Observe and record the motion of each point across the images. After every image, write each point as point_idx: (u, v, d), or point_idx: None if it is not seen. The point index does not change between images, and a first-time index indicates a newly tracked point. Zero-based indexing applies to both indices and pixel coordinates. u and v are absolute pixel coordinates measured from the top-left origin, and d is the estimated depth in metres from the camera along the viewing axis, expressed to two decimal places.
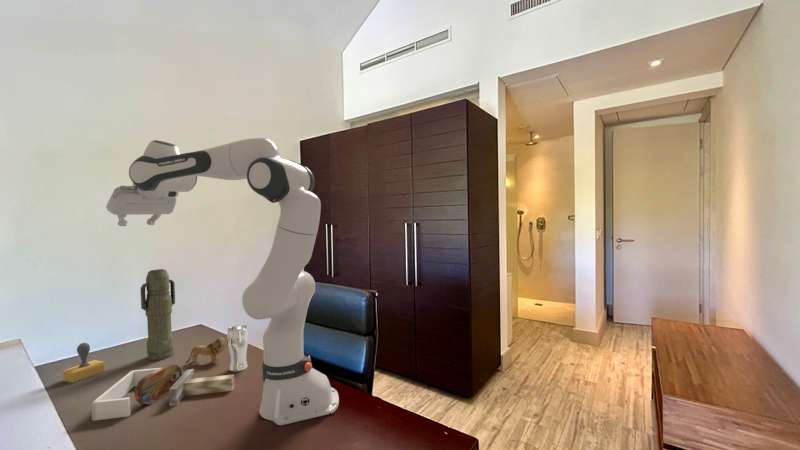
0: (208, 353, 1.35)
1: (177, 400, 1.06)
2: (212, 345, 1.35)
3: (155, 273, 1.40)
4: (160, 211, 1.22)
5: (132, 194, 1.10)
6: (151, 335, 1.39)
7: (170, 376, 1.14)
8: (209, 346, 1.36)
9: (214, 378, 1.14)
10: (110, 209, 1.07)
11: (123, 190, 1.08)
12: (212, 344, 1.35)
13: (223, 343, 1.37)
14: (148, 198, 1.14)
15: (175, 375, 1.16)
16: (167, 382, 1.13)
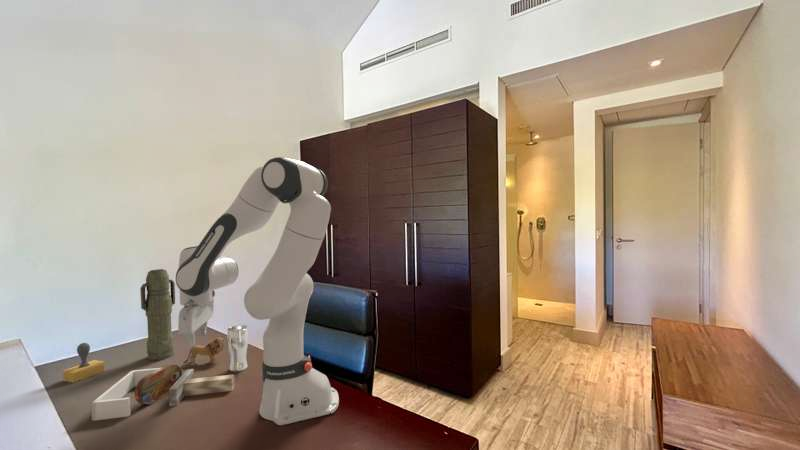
0: (206, 353, 1.35)
1: (177, 400, 1.06)
2: (210, 345, 1.35)
3: (155, 273, 1.40)
4: (208, 316, 1.18)
5: (195, 307, 1.07)
6: (151, 335, 1.39)
7: (170, 376, 1.14)
8: (207, 346, 1.36)
9: (214, 378, 1.14)
10: (185, 331, 1.03)
11: (187, 307, 1.05)
12: (210, 344, 1.35)
13: (221, 343, 1.37)
14: (204, 305, 1.12)
15: (175, 375, 1.16)
16: (167, 382, 1.13)
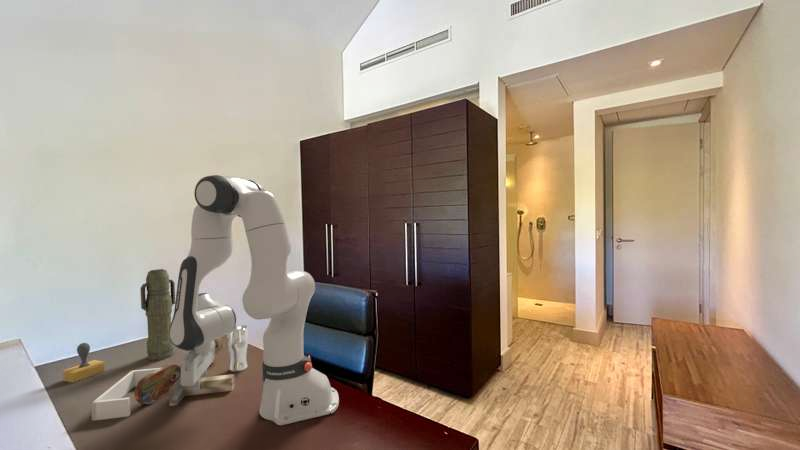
0: None
1: (177, 400, 1.06)
2: None
3: (155, 273, 1.40)
4: (210, 361, 1.19)
5: (197, 357, 1.08)
6: (151, 335, 1.39)
7: (170, 376, 1.14)
8: None
9: (214, 378, 1.14)
10: (188, 383, 1.03)
11: (189, 358, 1.05)
12: None
13: (220, 343, 1.37)
14: (206, 353, 1.12)
15: (175, 375, 1.16)
16: (167, 382, 1.13)
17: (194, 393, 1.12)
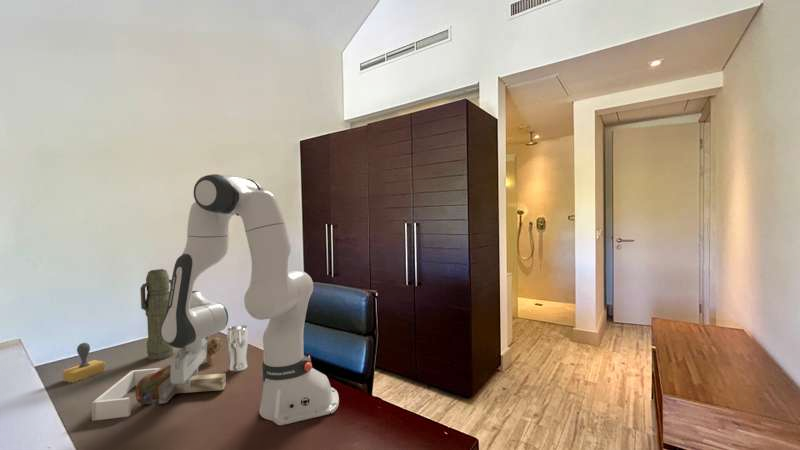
0: None
1: (166, 397, 1.06)
2: (208, 345, 1.35)
3: (155, 273, 1.40)
4: (201, 359, 1.18)
5: (187, 355, 1.07)
6: (151, 335, 1.39)
7: (169, 375, 1.14)
8: None
9: (205, 376, 1.13)
10: (178, 381, 1.03)
11: (179, 356, 1.05)
12: (207, 344, 1.35)
13: (219, 343, 1.37)
14: (197, 351, 1.12)
15: None
16: None
17: (185, 391, 1.11)
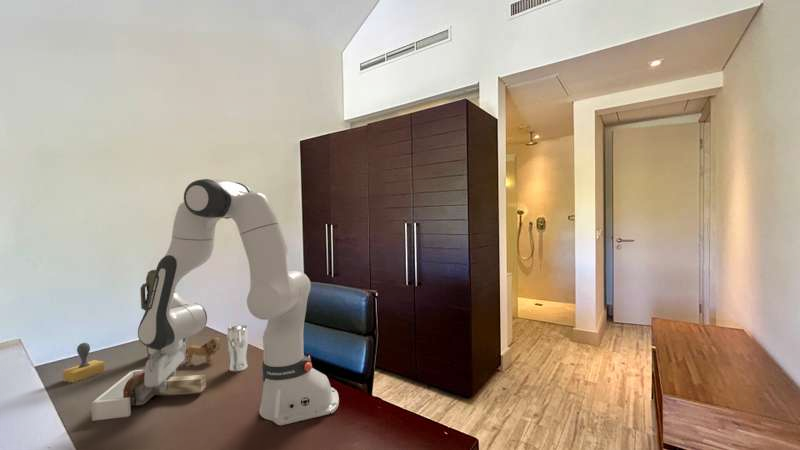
0: (203, 353, 1.35)
1: (143, 399, 1.05)
2: (207, 345, 1.35)
3: None
4: (179, 361, 1.17)
5: (162, 357, 1.06)
6: None
7: None
8: (204, 346, 1.35)
9: (184, 378, 1.12)
10: (152, 383, 1.02)
11: (154, 358, 1.03)
12: (207, 344, 1.35)
13: (218, 343, 1.37)
14: (173, 353, 1.10)
15: None
16: None
17: (164, 392, 1.10)
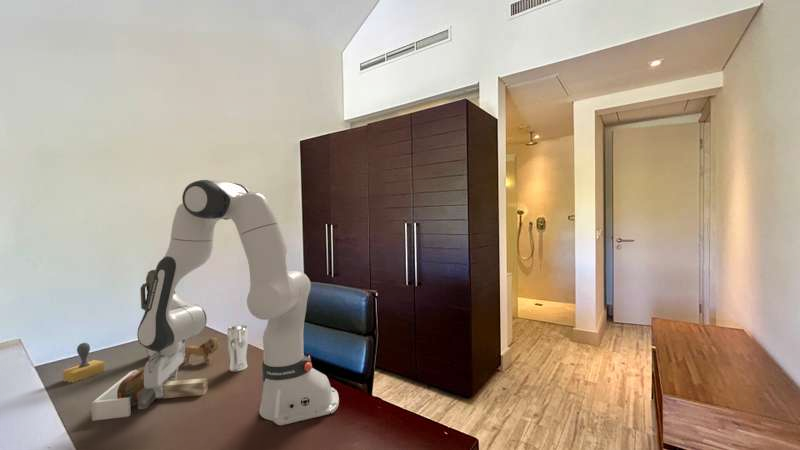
0: (201, 353, 1.35)
1: (146, 403, 1.05)
2: (205, 345, 1.35)
3: None
4: (178, 363, 1.17)
5: (162, 359, 1.06)
6: None
7: None
8: (201, 346, 1.35)
9: (186, 381, 1.12)
10: (151, 385, 1.02)
11: (154, 360, 1.03)
12: (205, 344, 1.35)
13: (216, 343, 1.37)
14: (173, 354, 1.10)
15: None
16: None
17: (165, 397, 1.10)
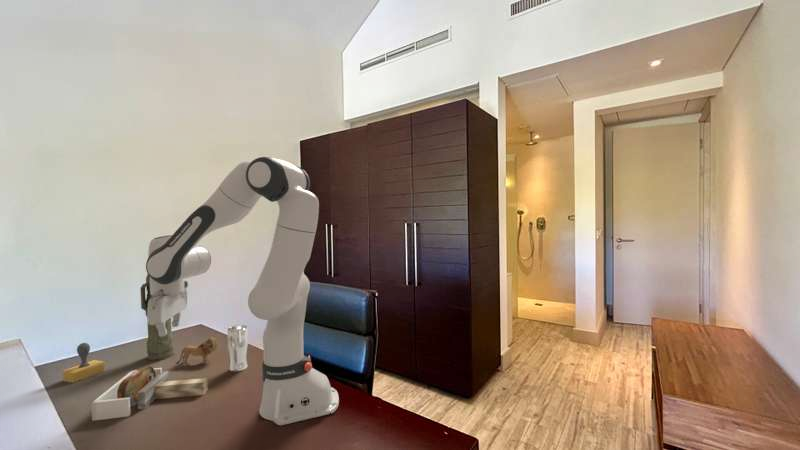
0: (199, 353, 1.35)
1: (146, 403, 1.05)
2: (203, 345, 1.35)
3: None
4: (181, 307, 1.17)
5: (165, 297, 1.06)
6: (151, 335, 1.39)
7: (147, 378, 1.13)
8: (200, 346, 1.35)
9: (186, 381, 1.12)
10: (155, 321, 1.02)
11: (157, 297, 1.04)
12: (203, 344, 1.35)
13: (214, 343, 1.37)
14: (175, 295, 1.11)
15: (150, 377, 1.15)
16: (144, 384, 1.12)
17: (165, 397, 1.10)
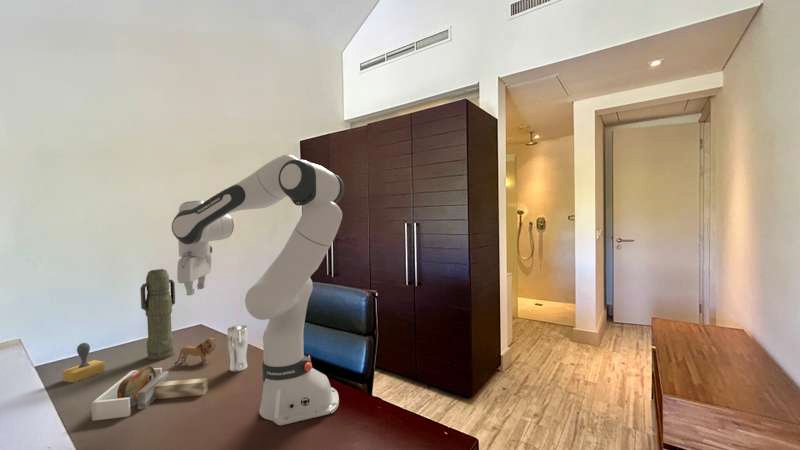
0: (198, 353, 1.35)
1: (146, 403, 1.05)
2: (202, 345, 1.35)
3: (155, 273, 1.40)
4: (206, 271, 1.23)
5: (193, 258, 1.12)
6: (151, 335, 1.39)
7: (147, 378, 1.13)
8: (199, 346, 1.35)
9: (186, 381, 1.12)
10: (184, 279, 1.08)
11: (186, 257, 1.10)
12: (202, 344, 1.35)
13: (213, 343, 1.37)
14: (202, 258, 1.17)
15: (150, 377, 1.15)
16: (144, 384, 1.12)
17: (165, 397, 1.10)
